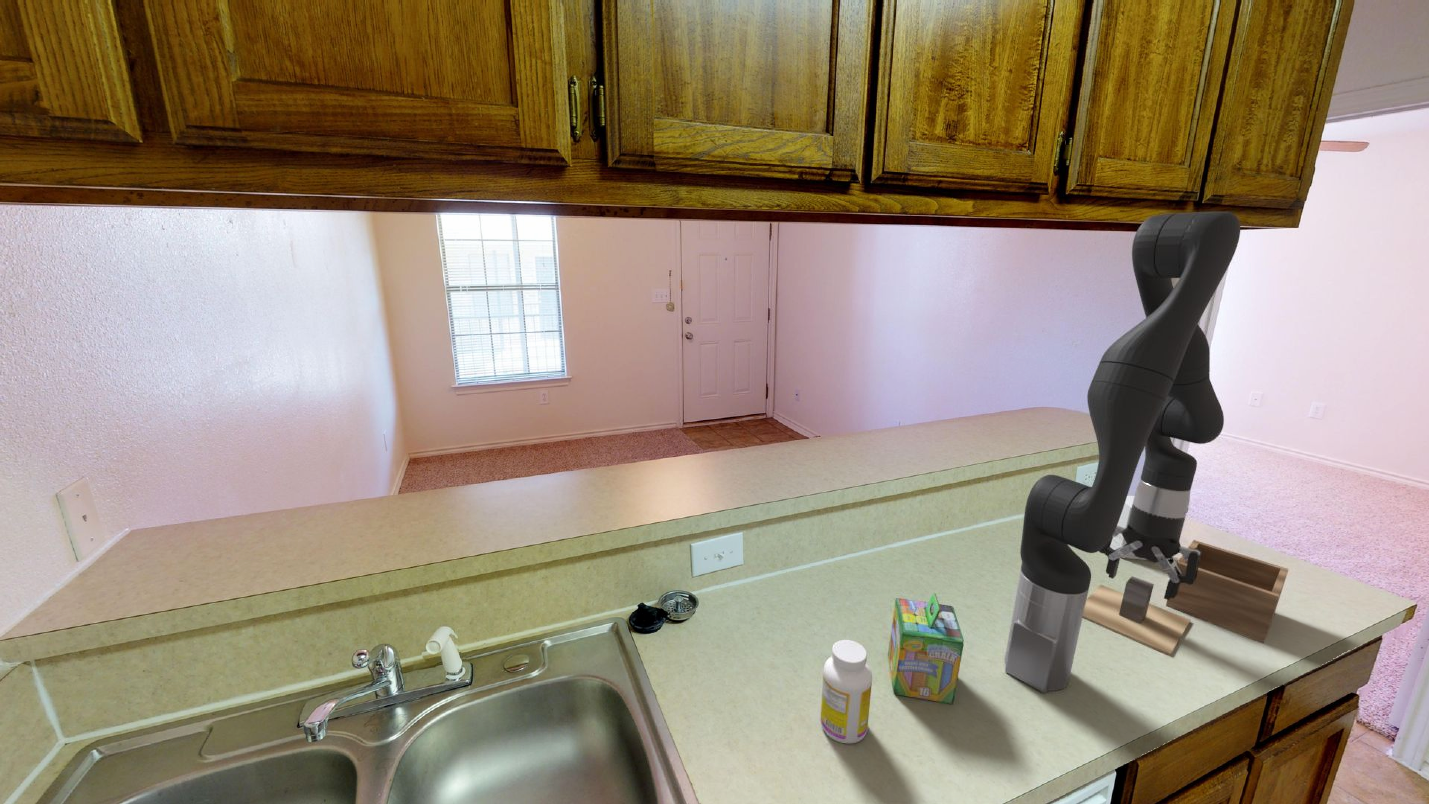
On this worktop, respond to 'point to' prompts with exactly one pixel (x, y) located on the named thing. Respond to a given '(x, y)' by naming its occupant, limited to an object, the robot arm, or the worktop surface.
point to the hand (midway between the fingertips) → (1139, 587)
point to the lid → (1136, 615)
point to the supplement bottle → (846, 693)
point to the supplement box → (1123, 522)
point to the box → (1231, 591)
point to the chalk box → (925, 650)
